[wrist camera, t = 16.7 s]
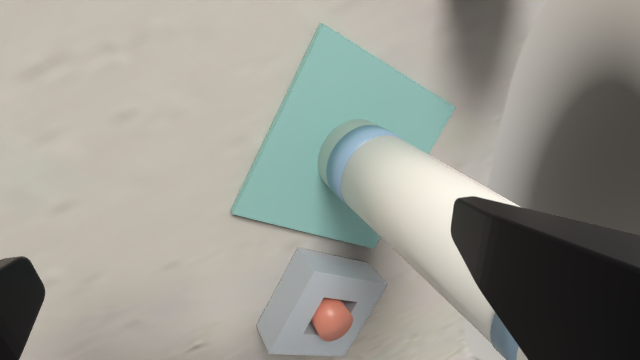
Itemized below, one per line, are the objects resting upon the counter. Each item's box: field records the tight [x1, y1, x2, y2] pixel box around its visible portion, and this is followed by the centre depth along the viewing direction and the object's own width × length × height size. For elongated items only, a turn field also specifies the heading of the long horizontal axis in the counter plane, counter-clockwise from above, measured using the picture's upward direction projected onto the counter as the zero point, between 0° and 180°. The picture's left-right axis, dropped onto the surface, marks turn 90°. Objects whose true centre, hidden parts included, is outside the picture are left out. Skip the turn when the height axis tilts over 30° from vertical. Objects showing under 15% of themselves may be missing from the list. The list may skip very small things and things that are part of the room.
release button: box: [311, 298, 353, 341], centre depth 27 cm, size 2×2×2 cm
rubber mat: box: [231, 23, 455, 249], centre depth 24 cm, size 11×11×1 cm
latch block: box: [257, 248, 388, 356], centre depth 27 cm, size 6×6×2 cm
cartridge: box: [318, 119, 528, 360], centre depth 19 cm, size 5×5×14 cm
